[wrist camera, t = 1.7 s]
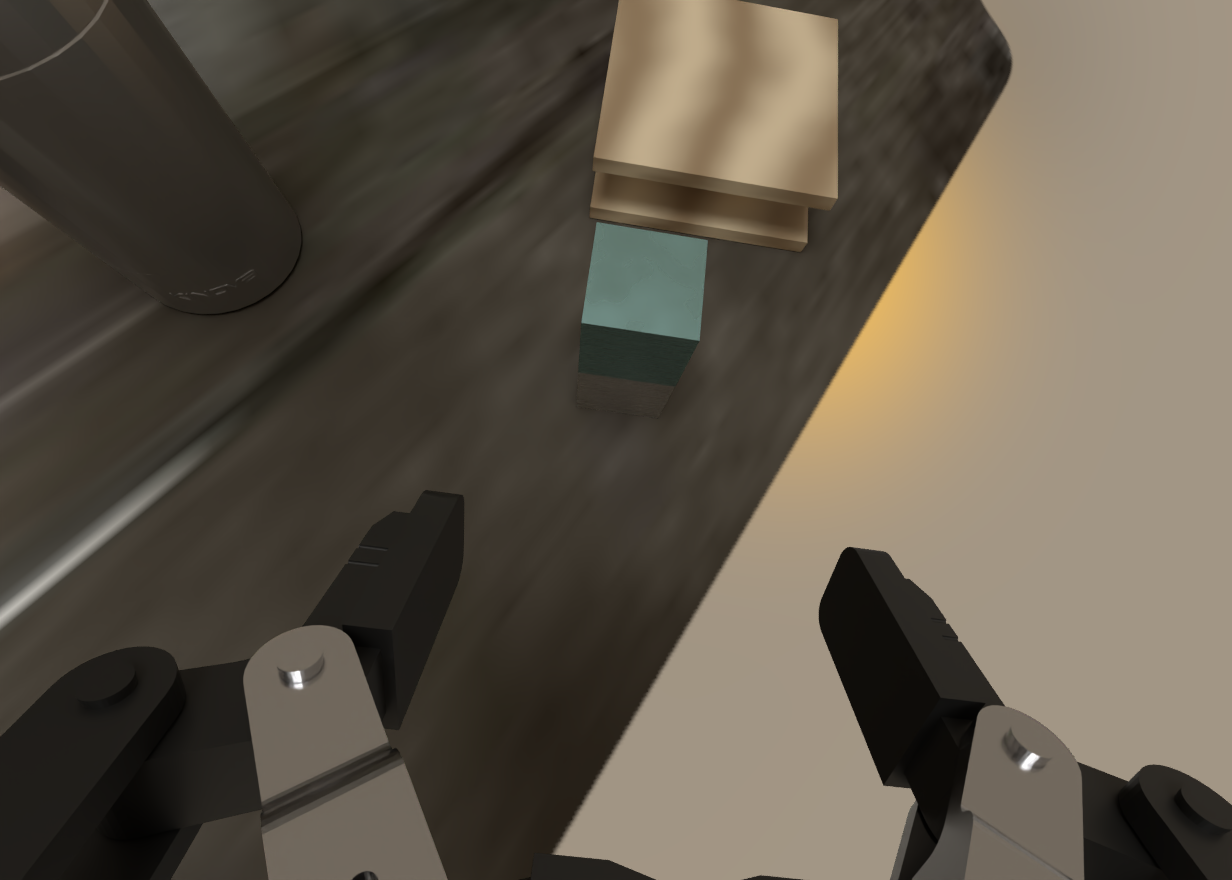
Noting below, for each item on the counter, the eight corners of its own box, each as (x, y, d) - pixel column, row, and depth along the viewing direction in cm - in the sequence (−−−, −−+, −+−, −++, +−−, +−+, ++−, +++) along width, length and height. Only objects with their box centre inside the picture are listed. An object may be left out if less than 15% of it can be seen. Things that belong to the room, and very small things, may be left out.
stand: (589, 217, 35) (593, 157, 30) (615, 55, 39) (622, -22, 34) (800, 252, 35) (837, 198, 31) (804, 89, 39) (837, 19, 35)
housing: (576, 406, 31) (581, 322, 22) (587, 332, 32) (596, 222, 23) (658, 418, 31) (699, 340, 22) (665, 344, 33) (707, 240, 23)
